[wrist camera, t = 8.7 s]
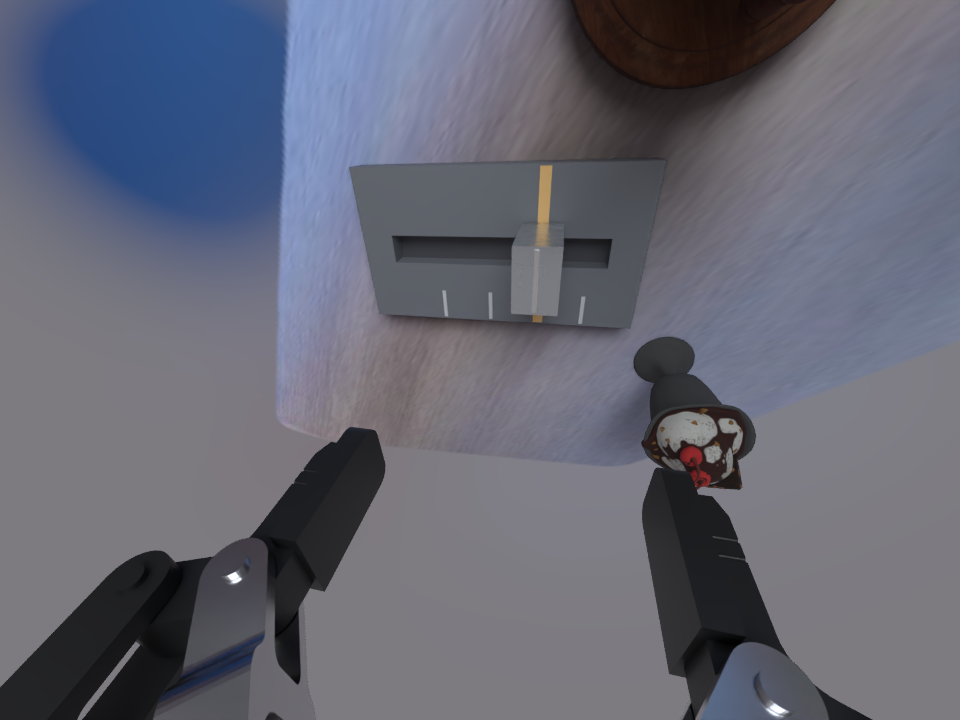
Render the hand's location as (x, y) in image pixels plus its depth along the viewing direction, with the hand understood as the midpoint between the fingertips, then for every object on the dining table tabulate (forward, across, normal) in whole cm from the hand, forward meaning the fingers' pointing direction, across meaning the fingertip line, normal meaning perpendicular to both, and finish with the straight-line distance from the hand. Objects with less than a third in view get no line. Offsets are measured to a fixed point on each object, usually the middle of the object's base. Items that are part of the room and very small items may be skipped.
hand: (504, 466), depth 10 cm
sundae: (+23, -11, +10) cm, 27 cm away
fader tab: (+23, 0, 0) cm, 23 cm away
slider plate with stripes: (+22, +4, 0) cm, 23 cm away
